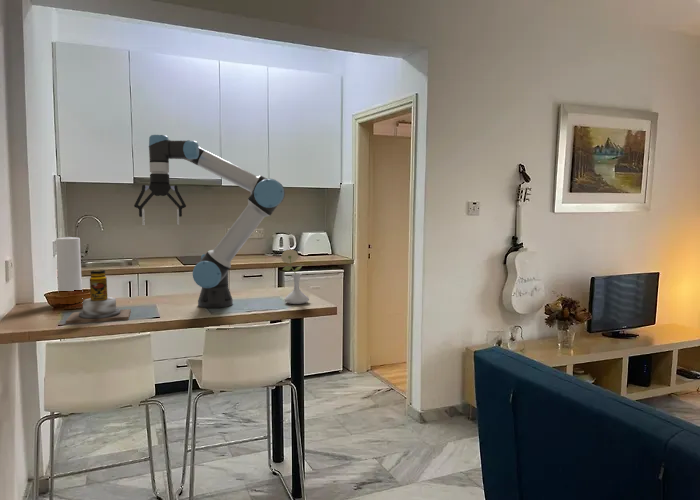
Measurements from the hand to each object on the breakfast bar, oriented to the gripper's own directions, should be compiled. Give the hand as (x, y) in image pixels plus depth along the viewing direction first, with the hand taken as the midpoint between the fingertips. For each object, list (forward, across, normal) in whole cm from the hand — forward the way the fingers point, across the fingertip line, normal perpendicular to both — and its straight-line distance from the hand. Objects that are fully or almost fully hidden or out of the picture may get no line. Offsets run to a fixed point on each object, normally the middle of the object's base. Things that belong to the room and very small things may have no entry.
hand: (161, 224), depth 219 cm
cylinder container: (+37, +40, -32) cm, 63 cm away
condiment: (+30, +24, +4) cm, 39 cm away
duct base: (+37, +24, +4) cm, 44 cm away
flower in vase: (+37, -57, -1) cm, 68 cm away
